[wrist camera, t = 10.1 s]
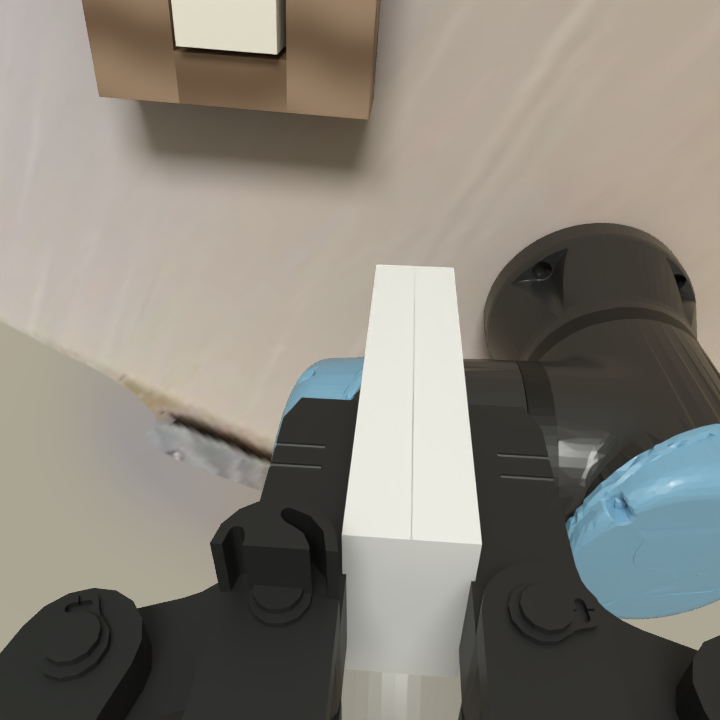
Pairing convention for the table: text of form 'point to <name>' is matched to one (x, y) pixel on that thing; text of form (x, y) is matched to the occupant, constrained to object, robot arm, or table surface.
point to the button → (231, 24)
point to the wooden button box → (240, 59)
